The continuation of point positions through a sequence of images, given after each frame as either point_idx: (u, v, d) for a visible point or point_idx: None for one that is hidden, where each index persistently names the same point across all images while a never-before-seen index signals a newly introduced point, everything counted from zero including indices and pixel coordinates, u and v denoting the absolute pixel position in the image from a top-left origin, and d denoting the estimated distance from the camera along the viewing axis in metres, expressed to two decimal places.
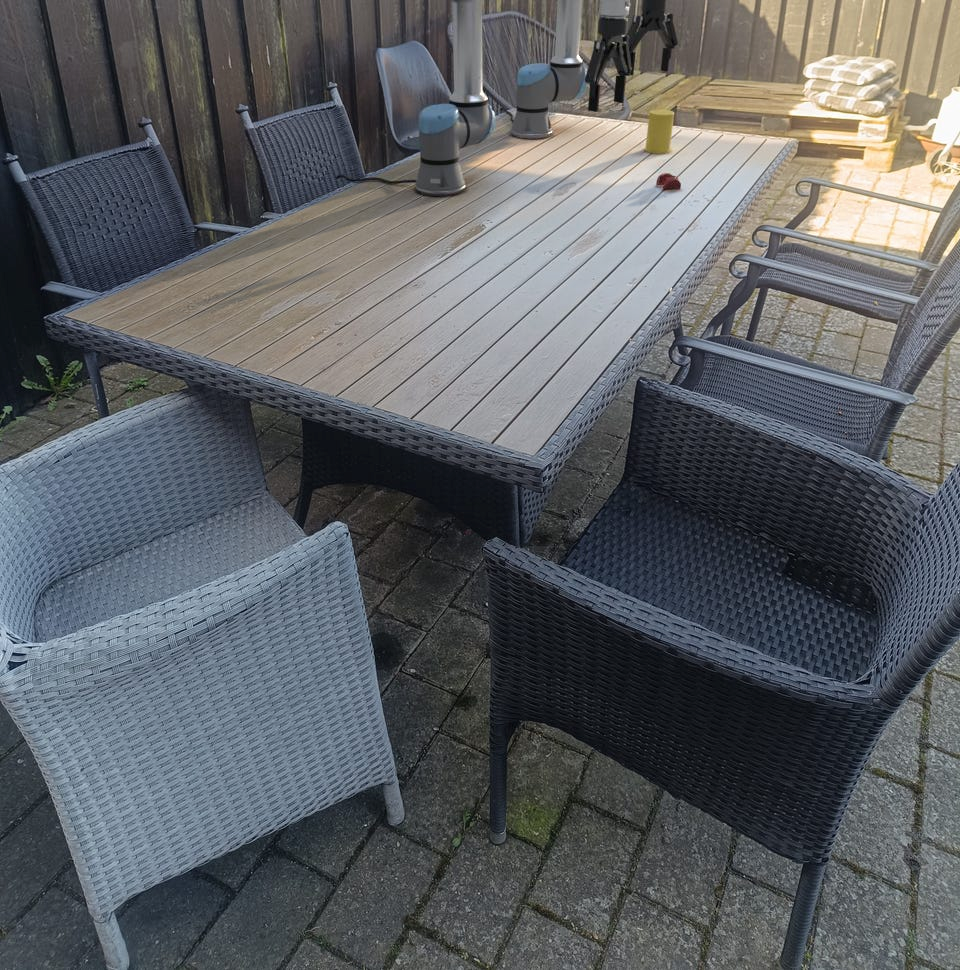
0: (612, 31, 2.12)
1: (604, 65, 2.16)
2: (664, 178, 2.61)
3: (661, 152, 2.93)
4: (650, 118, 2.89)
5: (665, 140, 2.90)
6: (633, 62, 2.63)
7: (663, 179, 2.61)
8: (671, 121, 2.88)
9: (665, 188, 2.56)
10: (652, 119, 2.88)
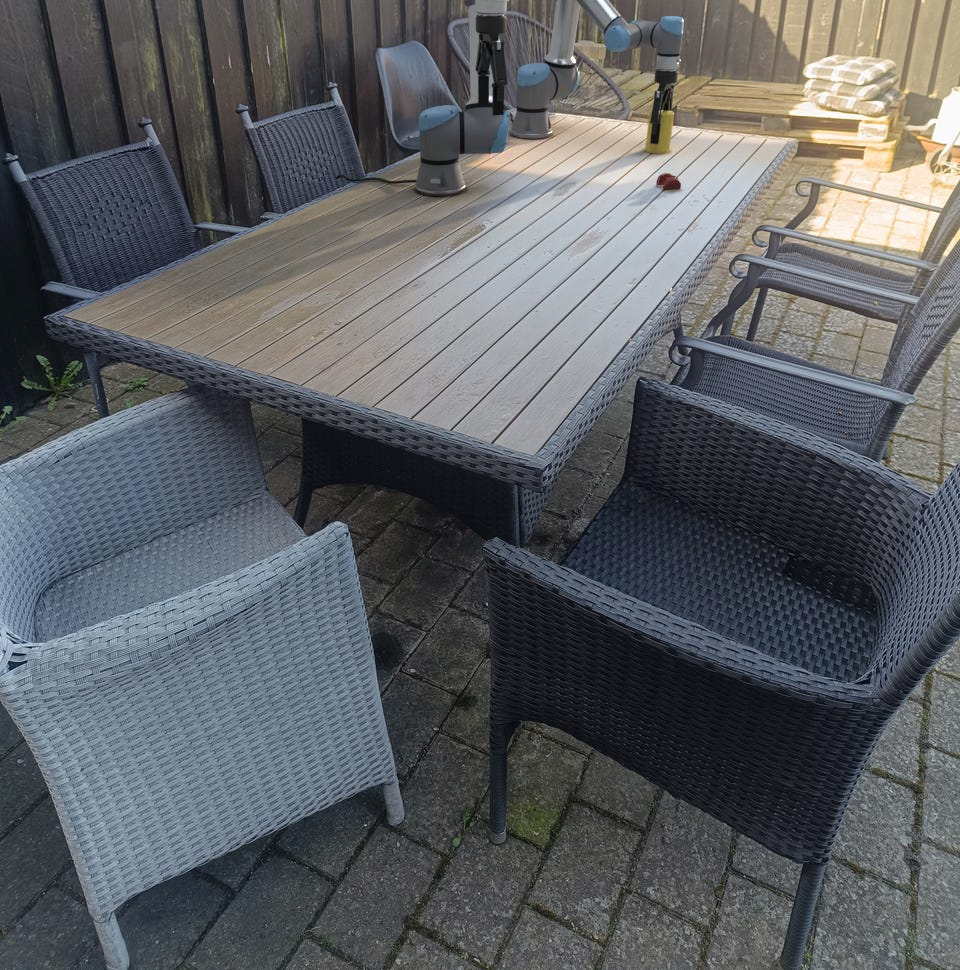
0: (502, 29, 2.01)
1: None
2: (664, 178, 2.61)
3: (661, 152, 2.93)
4: (650, 118, 2.89)
5: (665, 140, 2.90)
6: (659, 132, 2.88)
7: (663, 179, 2.61)
8: (671, 121, 2.88)
9: (665, 188, 2.56)
10: None
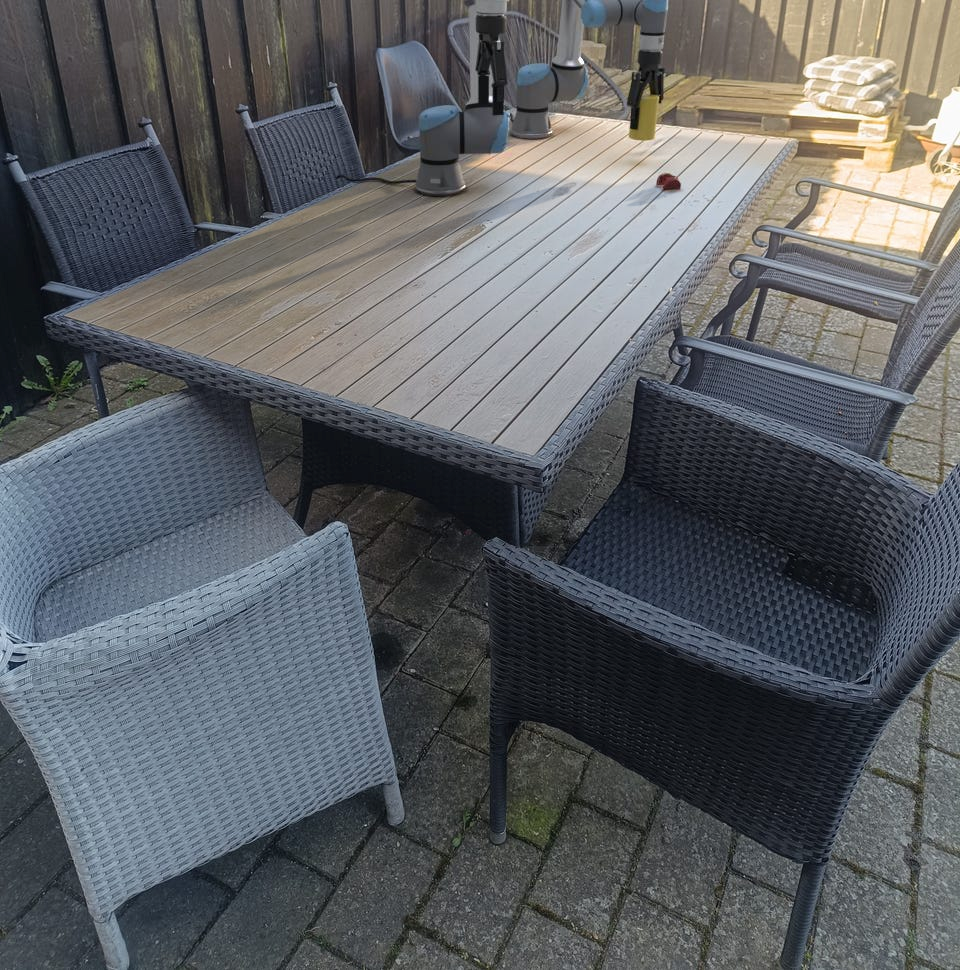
0: (502, 29, 2.01)
1: None
2: (664, 178, 2.61)
3: (641, 139, 2.74)
4: None
5: (646, 126, 2.72)
6: (638, 117, 2.70)
7: (663, 179, 2.61)
8: (653, 106, 2.69)
9: (665, 188, 2.56)
10: None
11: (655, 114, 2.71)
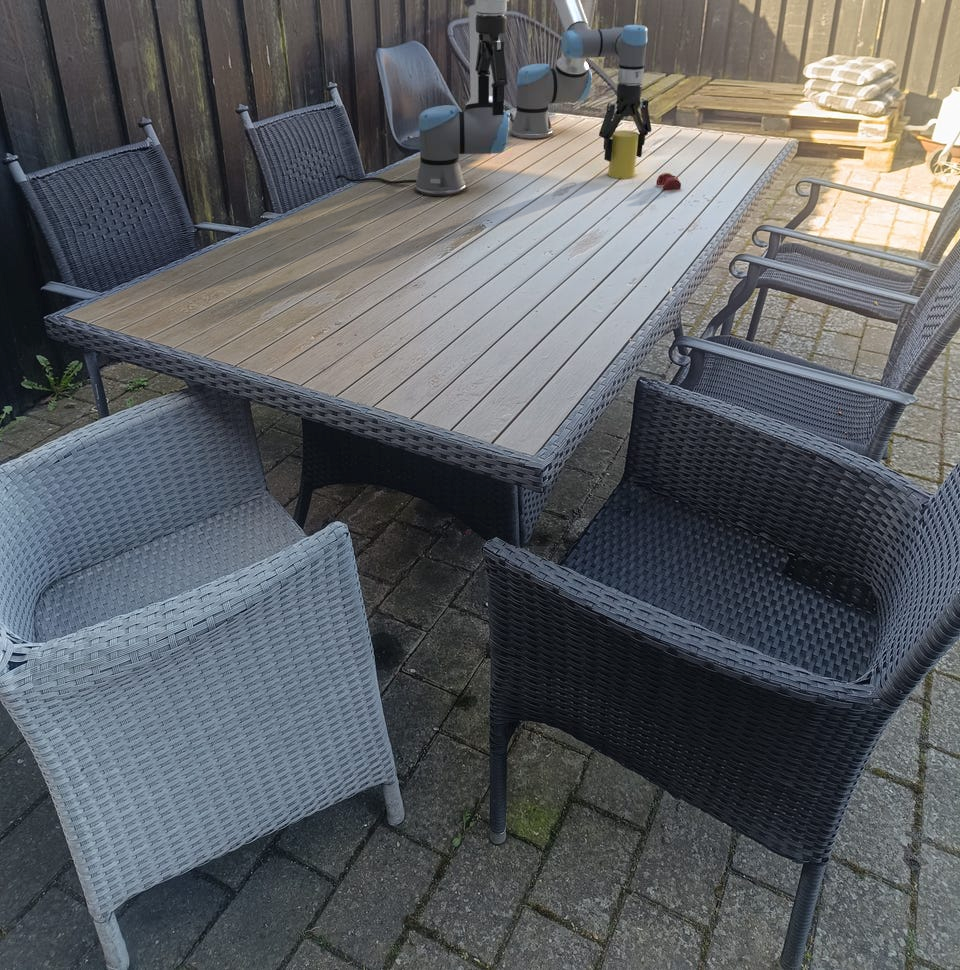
0: (502, 29, 2.01)
1: None
2: (664, 178, 2.61)
3: (617, 176, 2.68)
4: None
5: (621, 164, 2.66)
6: (610, 149, 2.63)
7: (663, 179, 2.61)
8: (629, 144, 2.62)
9: (665, 188, 2.56)
10: None
11: (632, 152, 2.64)
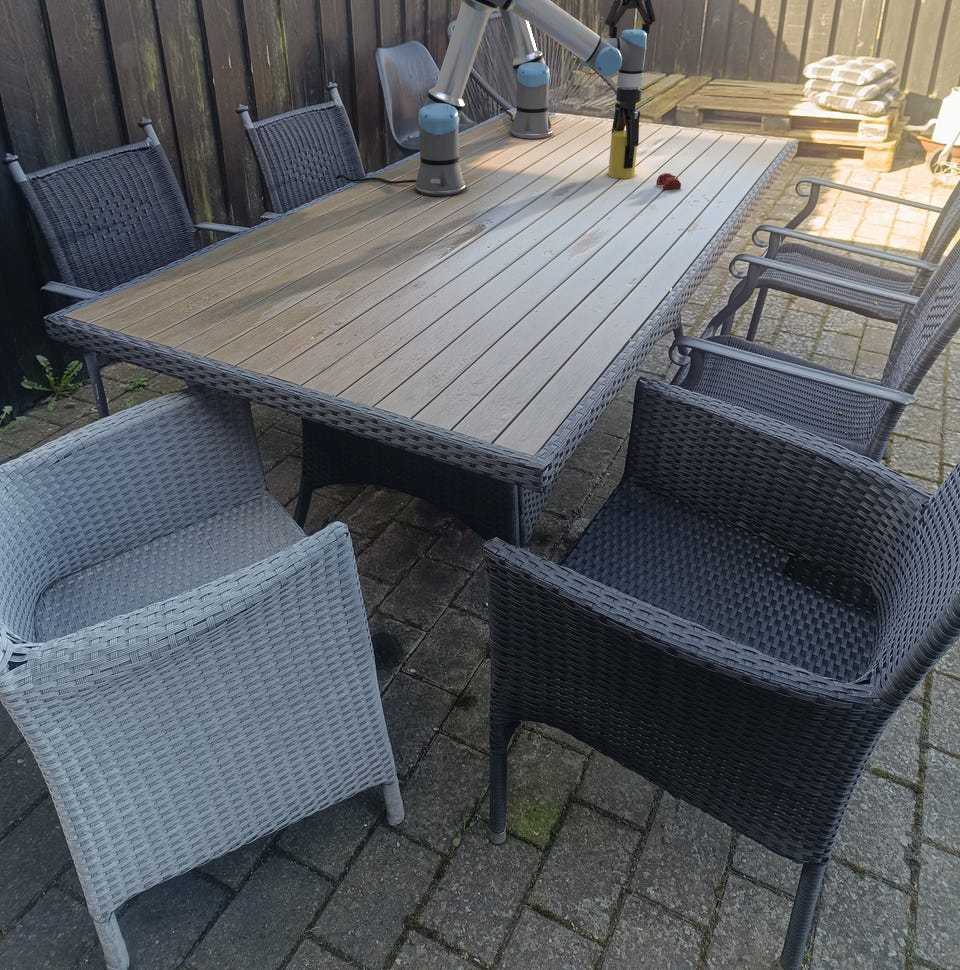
0: (638, 99, 2.56)
1: None
2: (664, 178, 2.61)
3: (617, 176, 2.68)
4: None
5: (621, 164, 2.66)
6: (615, 36, 3.02)
7: (663, 179, 2.61)
8: None
9: (665, 188, 2.56)
10: (611, 139, 2.65)
11: None
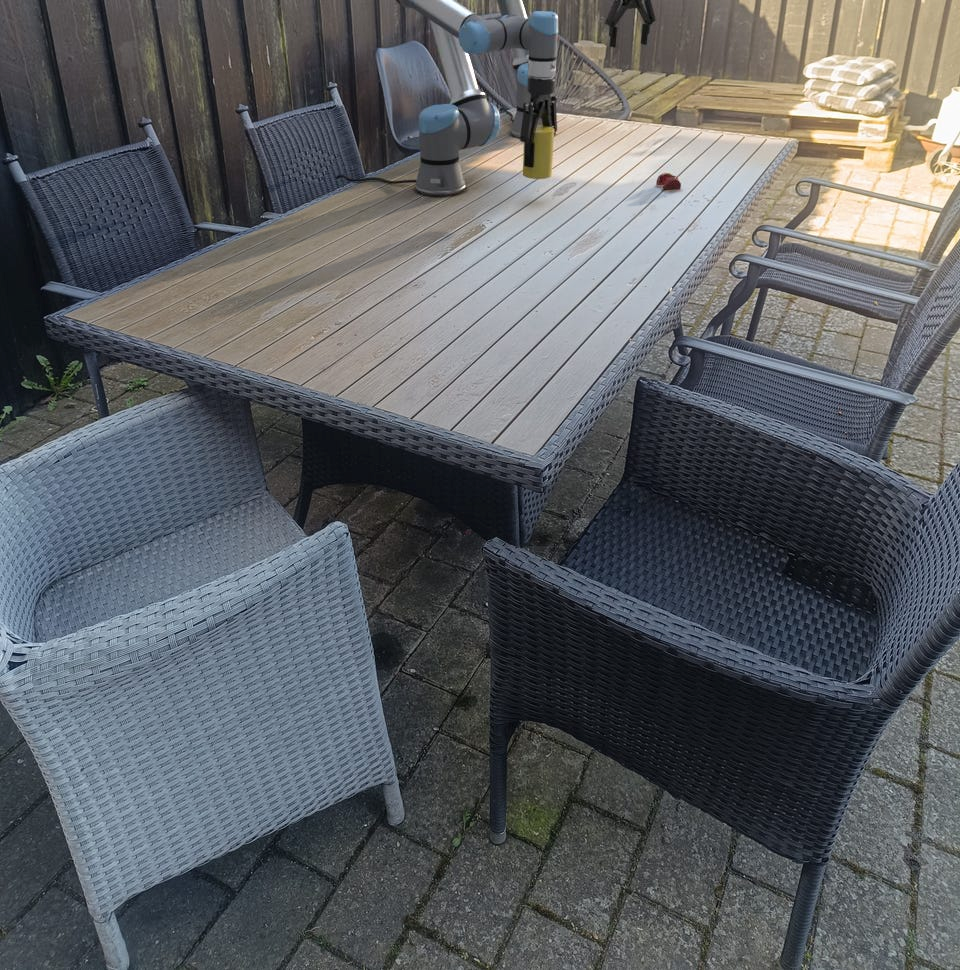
0: (540, 91, 2.27)
1: (536, 124, 2.32)
2: (664, 178, 2.61)
3: (523, 174, 2.43)
4: None
5: None
6: (615, 36, 3.02)
7: (663, 179, 2.61)
8: None
9: (665, 188, 2.56)
10: None
11: (535, 151, 2.36)
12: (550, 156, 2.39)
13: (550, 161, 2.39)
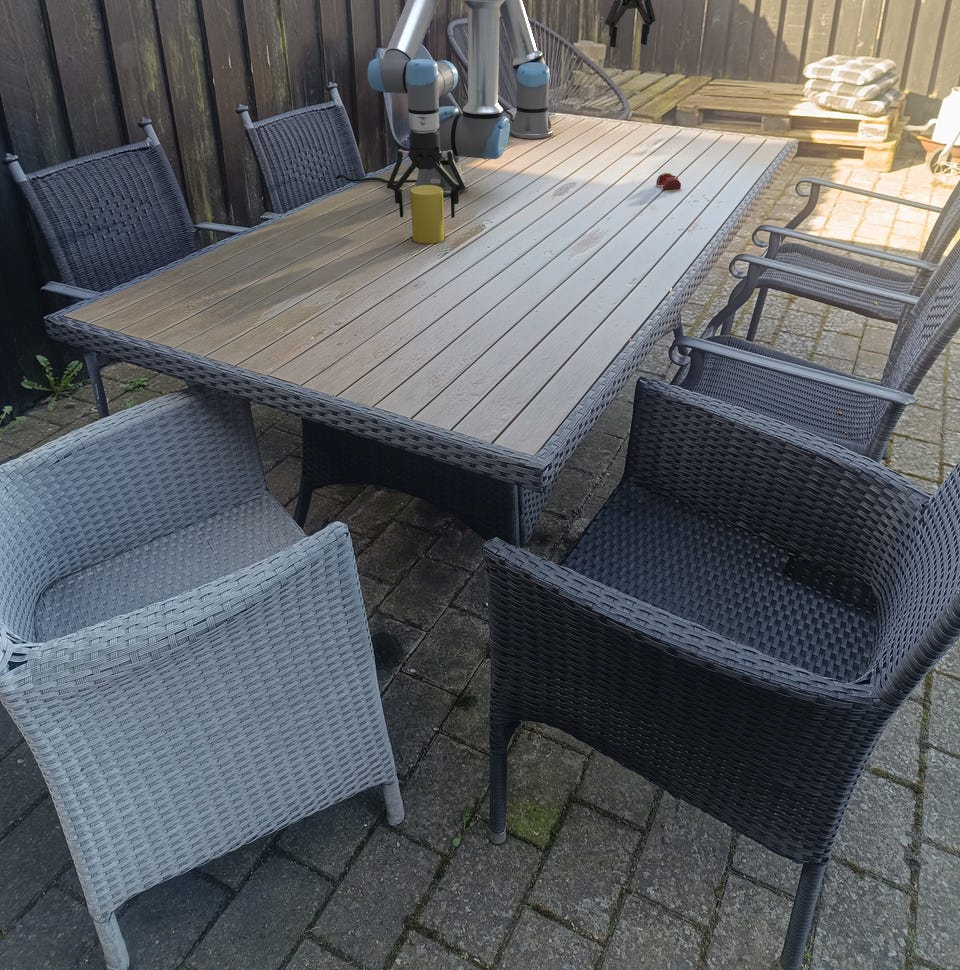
0: (410, 144, 2.08)
1: (406, 174, 2.13)
2: (664, 178, 2.61)
3: None
4: None
5: None
6: (615, 36, 3.02)
7: (663, 179, 2.61)
8: None
9: (665, 188, 2.56)
10: None
11: (411, 210, 2.18)
12: (426, 221, 2.17)
13: (425, 227, 2.18)
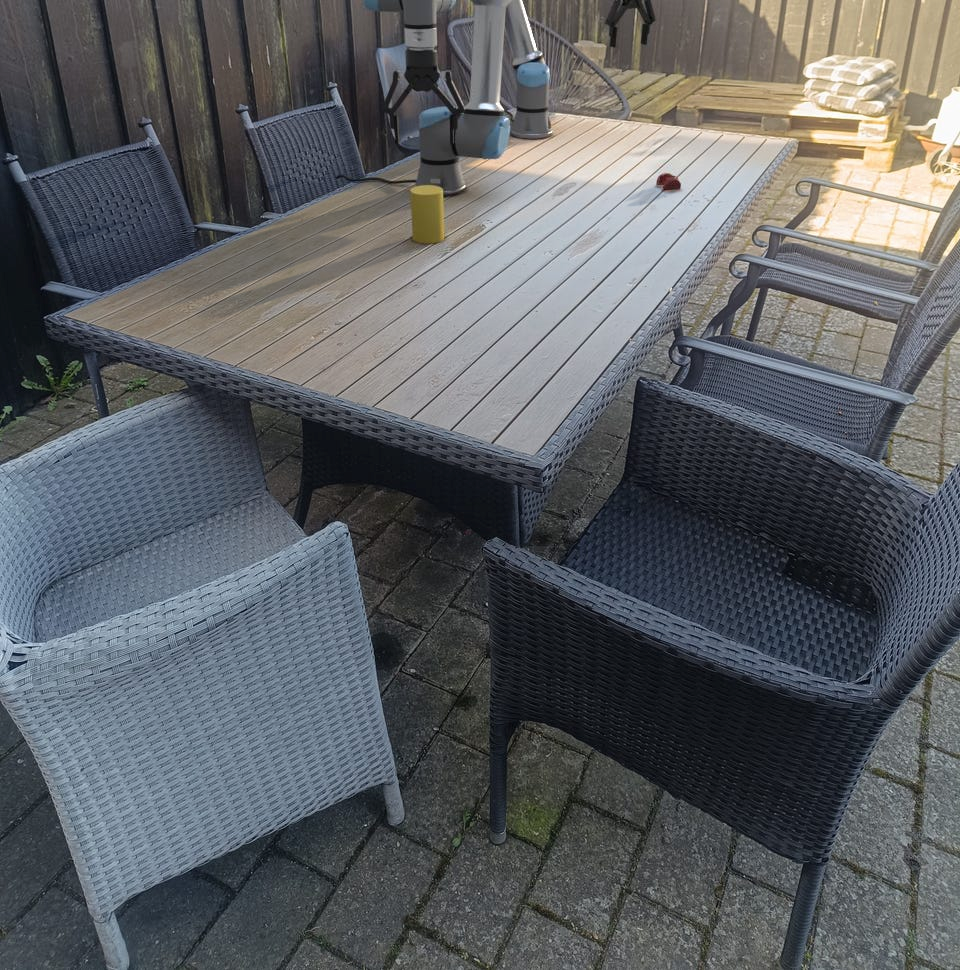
0: (407, 63, 1.97)
1: (402, 97, 2.02)
2: (664, 178, 2.61)
3: None
4: None
5: None
6: (615, 36, 3.02)
7: (663, 179, 2.61)
8: None
9: (665, 188, 2.56)
10: None
11: (411, 210, 2.18)
12: (426, 221, 2.17)
13: (425, 227, 2.18)
